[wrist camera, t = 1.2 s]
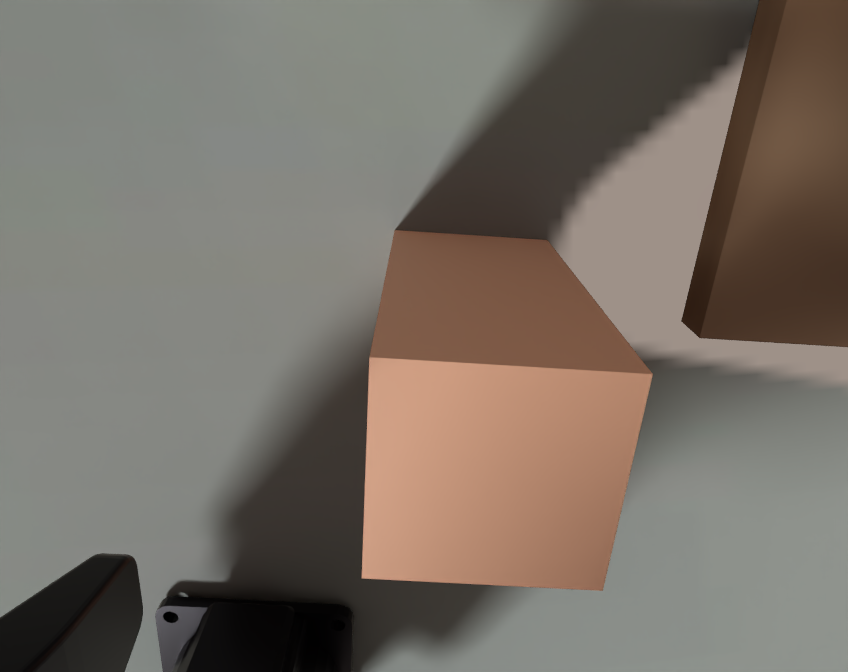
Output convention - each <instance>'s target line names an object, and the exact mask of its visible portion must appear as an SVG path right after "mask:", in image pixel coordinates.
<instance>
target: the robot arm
mask: <svg viewBox="0 0 848 672" xmlns="http://www.w3.org/2000/svg"><path fill="white" fill-rule="evenodd" d="M172 612H174V613H172ZM142 616H143V604H142V597H141V590H140V583H139V576H138V569H137V564H136V561H135V559H134V558H133V557H132V556H130V555H126V554H105V553H102V554H97V555H94V556H92V557H91V558H89V559H87V560H86V561H84V562H83V563H81V564H80V565H78V566H77V567H75V568H74V569H72V570H71V571H69V572H68V573H66V574H65V575H63V576H62V577H60V578H59V579H57V580H56V581H54V582H53V583H51V584H50V585H48V586H47V587H45V588H44V589H42V590H41V591H39V592H38V593H36V594H35V595H33V596H32V597H30V598H29V599H27V600H26V601H24V602H23V603H21V604H20V605H18V606H17V607H15V608H14V609H12V610H11V611H9V612H8V613H6V614H5V615H3V616H2V617H0V672H125V669H126V666H127V663H128V661H129V658H130V655H131V652H132V649H133V647H134V644H135V641H136V638H137V635H138V633H139V629H140V626H141V622H142ZM155 617H156V624H157V631H158V639H159V646H160V653H161V661H162V668H163V672H352V659H353V625H354V615H353V612H352V611H351V609H350V608H348V607H346V606H344V605H337V604H317V603H297V602H277V601H256V600H236V599H216V598H196V597H176V596H173V597H167V598H165V599H163V601H162V602H161V603H160V605H159V607H158V609H157V611H156V616H155ZM335 620H341V621H335Z"/></svg>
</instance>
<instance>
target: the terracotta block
mask: <svg viewBox="0 0 848 672" xmlns="http://www.w3.org/2000/svg"><path fill="white" fill-rule="evenodd" d="M652 376H653V374H652V373H651V371H650V370H649V369H648V367H647V366H646V365H645V364H644V362H643V361H642V360H641V359H640V357H639V356H638V355H637V353H636V352H635V351H634V350H633V348H632V347H631V346H630V345H629V343H628V342H627V341H626V339H625V338H624V337H623V336H622V334H621V333H620V332H619V331H618V329H617V328H616V327H615V326H614V324H613V323H612V322H611V320H610V319H609V318H608V317H607V315H606V314H605V313H604V312H603V310H602V309H601V308H600V306H599V305H598V304H597V303H596V301H595V300H594V299H593V297H592V296H591V295H590V294H589V292H588V291H587V290H586V289H585V287H584V286H583V285H582V284H581V282H580V281H579V280H578V279H577V277H576V276H575V275H574V273H573V272H572V271H571V270H570V268H569V267H568V266H567V264H566V263H565V262H564V261H563V259H562V258H561V257H560V256H559V254H558V253H557V252H556V250H555V249H554V248H553V247H552V245H551V244H550V243H549V242H548V240H539V239H523V238H508V237H493V236H478V235H462V234H447V233H432V232H416V231H401V230H395V232H394V237H393V242H392V247H391V252H390V257H389V262H388V267H387V272H386V277H385V282H384V287H383V292H382V297H381V302H380V307H379V312H378V317H377V322H376V327H375V332H374V337H373V342H372V347H371V352H370V357H369V385H368V413H367V442H366V470H365V499H364V527H363V556H362V578H364V579H383V580H403V581H423V582H442V583H462V584H482V585H501V586H521V587H540V588H560V589H580V590H599V591H603V587H604V583H605V578H606V574H607V570H608V566H609V561H610V557H611V553H612V548H613V544H614V540H615V535H616V531H617V527H618V522H619V518H620V514H621V509H622V505H623V501H624V497H625V492H626V488H627V484H628V479H629V475H630V471H631V466H632V462H633V458H634V453H635V449H636V445H637V440H638V436H639V432H640V427H641V423H642V419H643V415H644V410H645V406H646V402H647V397H648V393H649V389H650V384H651V380H652Z"/></svg>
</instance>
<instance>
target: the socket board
mask: <svg viewBox="0 0 848 672" xmlns="http://www.w3.org/2000/svg"><path fill="white" fill-rule="evenodd" d="M682 322H683V323H684V324H685V325H686V326H687V327H688V328H689V329H690V330H692V331H693V332H694V333H695V334H696V335H697V336H698V337H699V338H709V339H725V340H742V341H759V342H774V343H791V344H807V345H823V346H839V347H848V0H759V4H758V9H757V13H756V17H755V21H754V25H753V29H752V33H751V37H750V41H749V46H748V50H747V54H746V58H745V62H744V66H743V70H742V74H741V78H740V83H739V87H738V91H737V95H736V99H735V103H734V107H733V111H732V115H731V120H730V124H729V128H728V132H727V136H726V140H725V144H724V148H723V152H722V157H721V161H720V165H719V169H718V173H717V177H716V181H715V185H714V190H713V193H712V198H711V202H710V206H709V210H708V214H707V218H706V222H705V226H704V231H703V235H702V239H701V243H700V247H699V251H698V255H697V259H696V264H695V267H694V272H693V276H692V280H691V284H690V288H689V292H688V296H687V300H686V305H685V309H684V313H683V317H682Z"/></svg>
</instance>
